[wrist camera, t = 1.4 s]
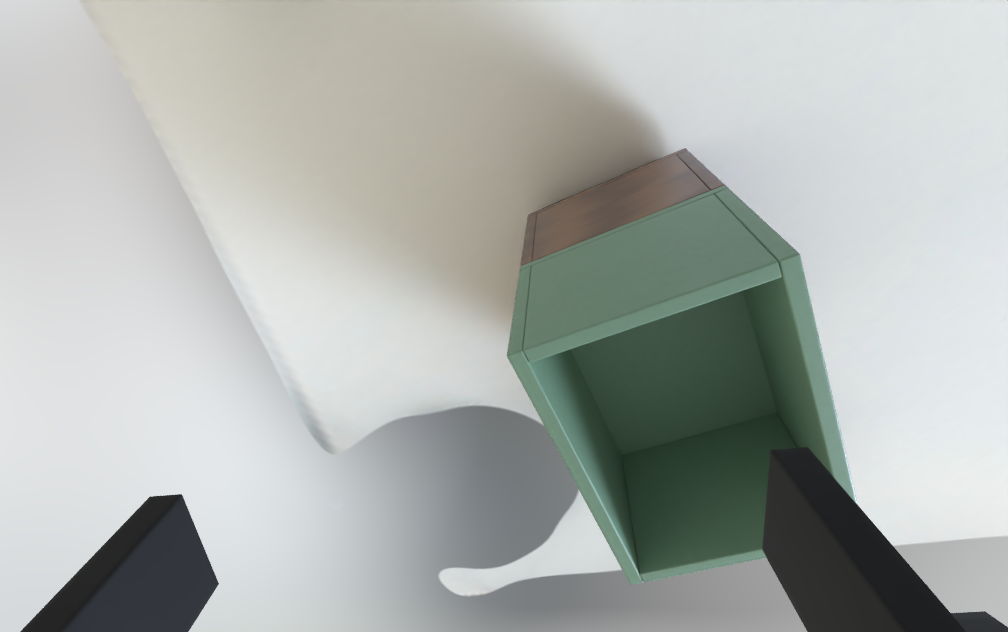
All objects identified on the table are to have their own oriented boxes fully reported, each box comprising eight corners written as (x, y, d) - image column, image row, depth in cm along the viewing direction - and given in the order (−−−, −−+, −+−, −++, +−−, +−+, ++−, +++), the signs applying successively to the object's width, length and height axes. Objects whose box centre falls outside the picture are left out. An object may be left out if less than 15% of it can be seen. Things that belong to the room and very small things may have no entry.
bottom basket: (682, 144, 34) (725, 184, 26) (738, 328, 40) (788, 411, 32) (528, 210, 37) (519, 265, 29) (601, 372, 43) (613, 459, 35)
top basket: (719, 179, 26) (800, 253, 18) (782, 401, 32) (865, 538, 24) (520, 258, 29) (506, 355, 21) (612, 448, 35) (630, 585, 27)
